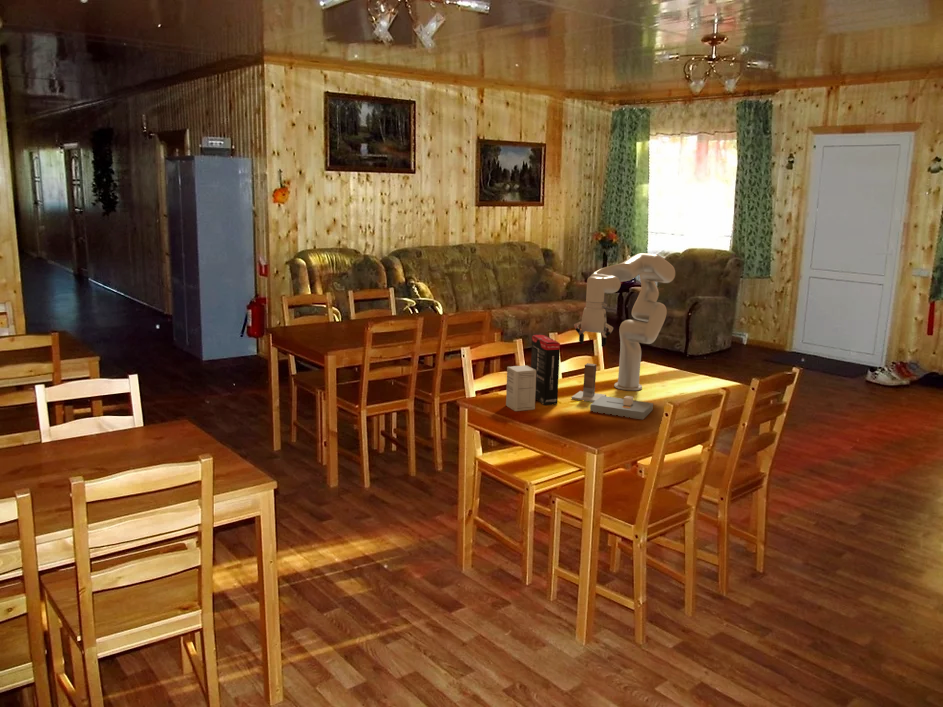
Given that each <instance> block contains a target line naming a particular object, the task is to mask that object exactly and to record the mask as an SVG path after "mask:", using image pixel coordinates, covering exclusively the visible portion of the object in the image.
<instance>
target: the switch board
mask: <svg viewBox="0 0 943 707" xmlns="http://www.w3.org/2000/svg"><path fill="white" fill-rule="evenodd" d="M623 401H624V398H620V397H614V396H613V397H612V396H607V395H606V396H601V397H600V398H598V399H597V400H596V401H594V402H591V403H590V407H589V411H590V412H591V411H593V412H592V413H597V412H598V413H599V414H603V413H605V415H610V414H612V415H611V416H616V415H618V416H619V417H623V416H625V417H624V418H629V417H630V418H631V419H635V420H637V419H638V420H642V421H643V420H644V419H645V418H647V416H648V415H649V414H650V413H651V412H652V411H653V410H654V408H653V407H654V402H648V401H642V400H634V399H633V404H632V405H631V406H628V405H623Z"/></svg>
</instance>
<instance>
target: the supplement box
mask: <svg viewBox="0 0 943 707" xmlns="http://www.w3.org/2000/svg"><path fill="white" fill-rule="evenodd" d="M535 392H536V370H535V369H533V368H531V366H529V365H527V364H526V365H513V366H507V367H506V398H505V399H506V400H505V406H507V407H508V408H509V409H511V410H512V411H514V412H520V411H521V412H522V411H533V410H535V409H536V399H535Z"/></svg>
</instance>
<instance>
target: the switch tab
mask: <svg viewBox="0 0 943 707" xmlns="http://www.w3.org/2000/svg"><path fill="white" fill-rule="evenodd" d="M623 399H624V401H623V405H628V406H631V405H632V404H633V400H634V396H633V395H625V396H624V397H623Z"/></svg>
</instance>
